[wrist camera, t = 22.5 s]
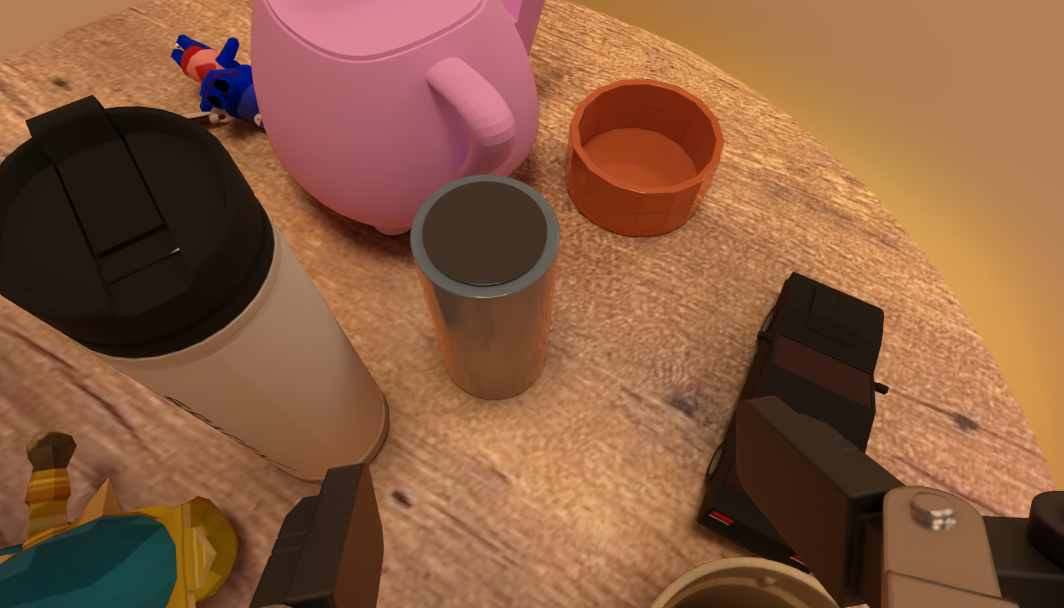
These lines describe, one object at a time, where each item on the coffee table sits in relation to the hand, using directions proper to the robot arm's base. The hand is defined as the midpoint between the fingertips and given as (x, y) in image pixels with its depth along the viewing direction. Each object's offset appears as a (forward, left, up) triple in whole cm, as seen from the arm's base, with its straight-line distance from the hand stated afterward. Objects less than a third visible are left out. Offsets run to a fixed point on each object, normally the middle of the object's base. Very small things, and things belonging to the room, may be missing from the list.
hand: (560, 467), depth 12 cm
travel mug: (-13, +3, -19) cm, 23 cm away
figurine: (-33, +23, -15) cm, 43 cm away
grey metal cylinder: (-5, +10, -19) cm, 22 cm away
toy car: (+11, +11, -19) cm, 24 cm away
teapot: (-13, +22, -19) cm, 32 cm away
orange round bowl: (-1, +24, -19) cm, 31 cm away
